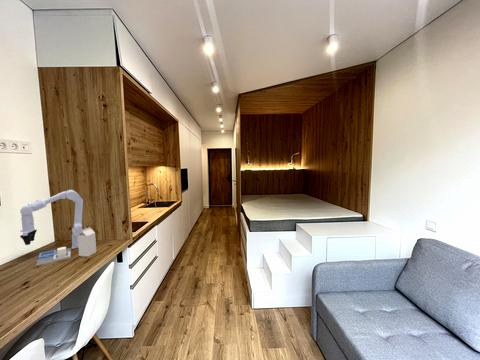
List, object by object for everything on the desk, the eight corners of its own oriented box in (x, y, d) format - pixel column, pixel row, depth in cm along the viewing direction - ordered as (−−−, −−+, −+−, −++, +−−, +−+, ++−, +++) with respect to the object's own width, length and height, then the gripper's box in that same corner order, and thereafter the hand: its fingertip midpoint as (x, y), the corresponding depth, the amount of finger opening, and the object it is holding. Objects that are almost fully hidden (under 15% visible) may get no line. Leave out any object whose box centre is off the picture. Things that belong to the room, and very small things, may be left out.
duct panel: (71, 248, 158) (70, 246, 158) (70, 258, 142) (70, 256, 141) (40, 254, 147) (39, 252, 147) (35, 266, 131) (35, 263, 131)
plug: (66, 254, 146) (65, 246, 146) (66, 257, 143) (65, 248, 142) (58, 256, 143) (57, 248, 143) (57, 258, 140) (57, 250, 139)
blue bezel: (56, 250, 153) (56, 249, 153) (55, 255, 144) (55, 254, 144) (40, 254, 147) (40, 252, 147) (38, 259, 139) (38, 257, 139)
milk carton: (96, 252, 151) (94, 227, 149) (88, 257, 144) (86, 230, 142) (87, 252, 152) (85, 226, 150) (79, 256, 145) (77, 230, 143)
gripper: (23, 221, 146) (25, 240, 148) (15, 227, 134) (17, 247, 135) (37, 220, 150) (39, 238, 151) (30, 225, 138) (32, 245, 139)
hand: (29, 242), depth 144 cm, fingers open, 7 cm apart
